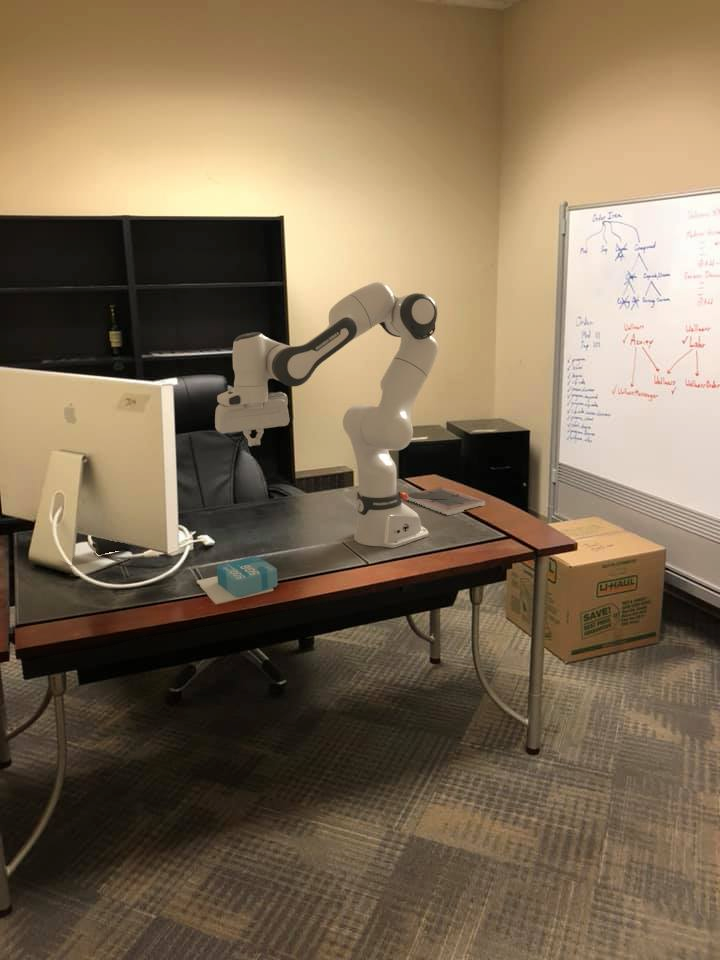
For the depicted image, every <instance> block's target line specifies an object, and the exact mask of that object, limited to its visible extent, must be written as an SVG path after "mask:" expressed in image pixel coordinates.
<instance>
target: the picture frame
mask: <svg viewBox="0 0 720 960" xmlns="http://www.w3.org/2000/svg"><path fill="white" fill-rule="evenodd" d="M406 494H407V495H408V496H409V497H408V498H407V500H406V501H408V500H409V502H411V501H412V502H411V503H413V502H415V503H414V504H416V503H417V505H419V504H420V505H419V506H421V505H422V507H424V506H425V507H424V508H427V509H429V508H430V510H432V511H435V512H437V511H438V513H440V512H441V513H440V514H443V515H445V514H446V516H448V515H449V516H451V515H455V514H456V515H457V514H459V513H463V512H465V511H464V510H465V509H468V508H473V507H477V506H482V507H484V505H485V506H486V500H485V499H484V500H483V499H481V498H477V497H475V496H471V495H469V494H466V493H463V492H460V491H457V490H454V489H451V488H447V487H444V486H443V485H442V486H437V487H433V488H430V489H425V490H421V491H420V490H419V491H417V492H415V491H414V492H411V493H406Z"/></svg>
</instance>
